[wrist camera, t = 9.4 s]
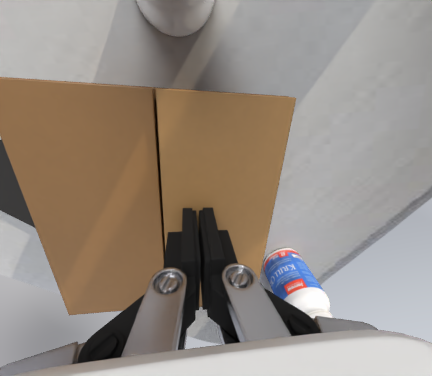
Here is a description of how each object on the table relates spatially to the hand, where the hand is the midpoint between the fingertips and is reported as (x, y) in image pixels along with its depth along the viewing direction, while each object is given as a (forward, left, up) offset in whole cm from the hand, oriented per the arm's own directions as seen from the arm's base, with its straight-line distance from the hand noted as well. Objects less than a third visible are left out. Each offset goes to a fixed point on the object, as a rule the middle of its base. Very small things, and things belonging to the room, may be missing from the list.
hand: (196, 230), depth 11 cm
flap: (0, +1, -1) cm, 1 cm away
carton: (0, -2, -11) cm, 11 cm away
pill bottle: (+14, +13, -11) cm, 22 cm away
